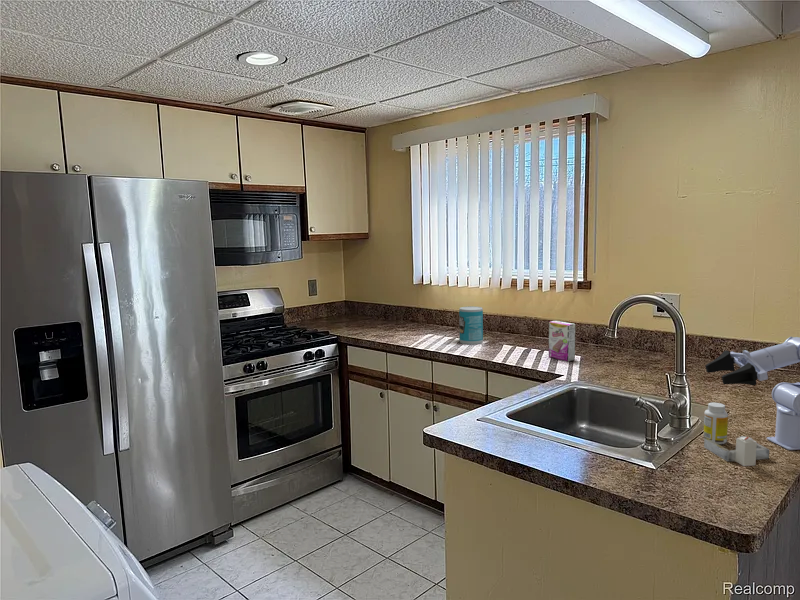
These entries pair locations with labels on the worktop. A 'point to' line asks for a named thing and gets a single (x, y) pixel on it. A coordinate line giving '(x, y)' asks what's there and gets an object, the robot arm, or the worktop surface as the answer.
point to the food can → (471, 325)
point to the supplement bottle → (716, 423)
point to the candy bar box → (562, 340)
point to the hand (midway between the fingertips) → (714, 374)
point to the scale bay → (733, 451)
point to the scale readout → (745, 451)
